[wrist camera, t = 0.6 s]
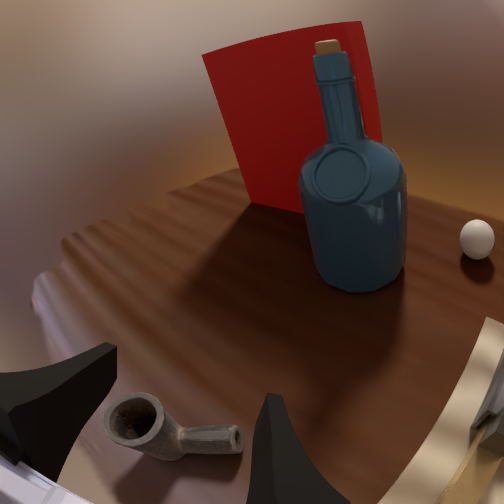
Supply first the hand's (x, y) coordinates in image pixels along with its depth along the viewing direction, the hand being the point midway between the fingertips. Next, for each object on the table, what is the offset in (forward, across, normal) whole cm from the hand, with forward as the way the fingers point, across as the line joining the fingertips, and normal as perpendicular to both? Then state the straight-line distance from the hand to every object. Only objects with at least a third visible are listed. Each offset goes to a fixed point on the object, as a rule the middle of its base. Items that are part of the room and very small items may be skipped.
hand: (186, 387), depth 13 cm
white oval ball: (+29, -33, -8) cm, 44 cm away
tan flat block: (+5, -27, +5) cm, 28 cm away
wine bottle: (+32, -16, 0) cm, 36 cm away
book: (+49, -9, -5) cm, 50 cm away
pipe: (+11, 0, +19) cm, 22 cm away
